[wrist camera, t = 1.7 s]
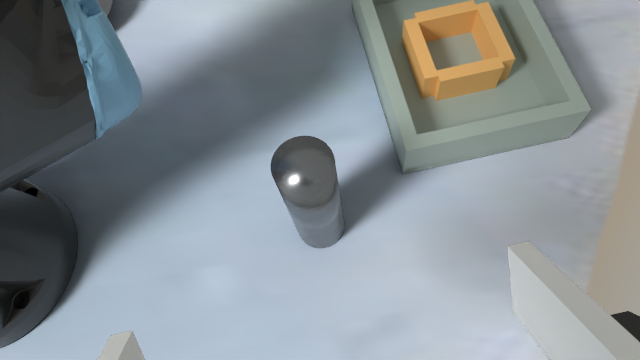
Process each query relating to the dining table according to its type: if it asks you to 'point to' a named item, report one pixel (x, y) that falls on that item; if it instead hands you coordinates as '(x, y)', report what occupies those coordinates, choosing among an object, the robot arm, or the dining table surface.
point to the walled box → (467, 78)
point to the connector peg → (310, 189)
